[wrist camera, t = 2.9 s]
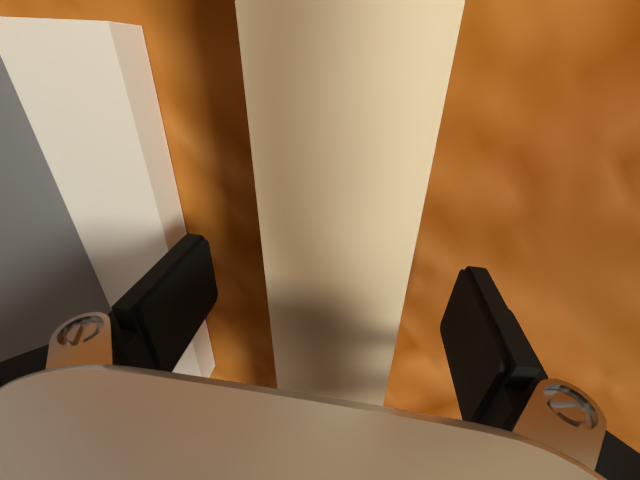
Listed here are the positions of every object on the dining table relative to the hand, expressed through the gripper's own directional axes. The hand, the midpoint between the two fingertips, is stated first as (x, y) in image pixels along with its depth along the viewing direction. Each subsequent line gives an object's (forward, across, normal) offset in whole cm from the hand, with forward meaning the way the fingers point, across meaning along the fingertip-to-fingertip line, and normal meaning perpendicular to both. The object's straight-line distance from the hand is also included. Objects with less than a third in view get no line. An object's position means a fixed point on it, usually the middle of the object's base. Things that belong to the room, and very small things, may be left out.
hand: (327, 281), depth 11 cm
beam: (+3, 0, 0) cm, 3 cm away
